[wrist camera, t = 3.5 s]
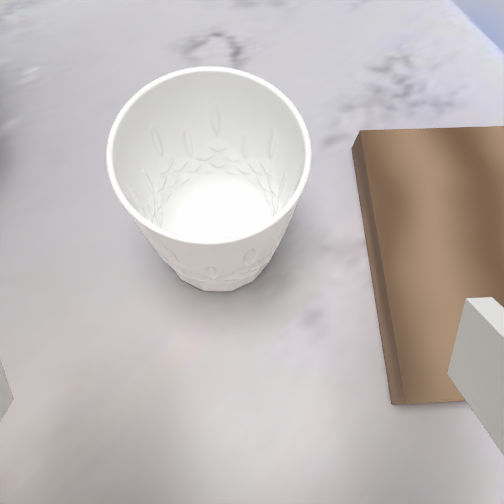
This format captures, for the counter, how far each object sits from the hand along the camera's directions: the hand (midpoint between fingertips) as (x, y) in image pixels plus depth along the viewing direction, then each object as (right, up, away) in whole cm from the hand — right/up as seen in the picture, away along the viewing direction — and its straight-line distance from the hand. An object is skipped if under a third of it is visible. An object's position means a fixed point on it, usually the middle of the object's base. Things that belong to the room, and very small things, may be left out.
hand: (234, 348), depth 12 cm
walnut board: (+14, +2, +14) cm, 20 cm away
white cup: (-1, +3, +14) cm, 14 cm away
